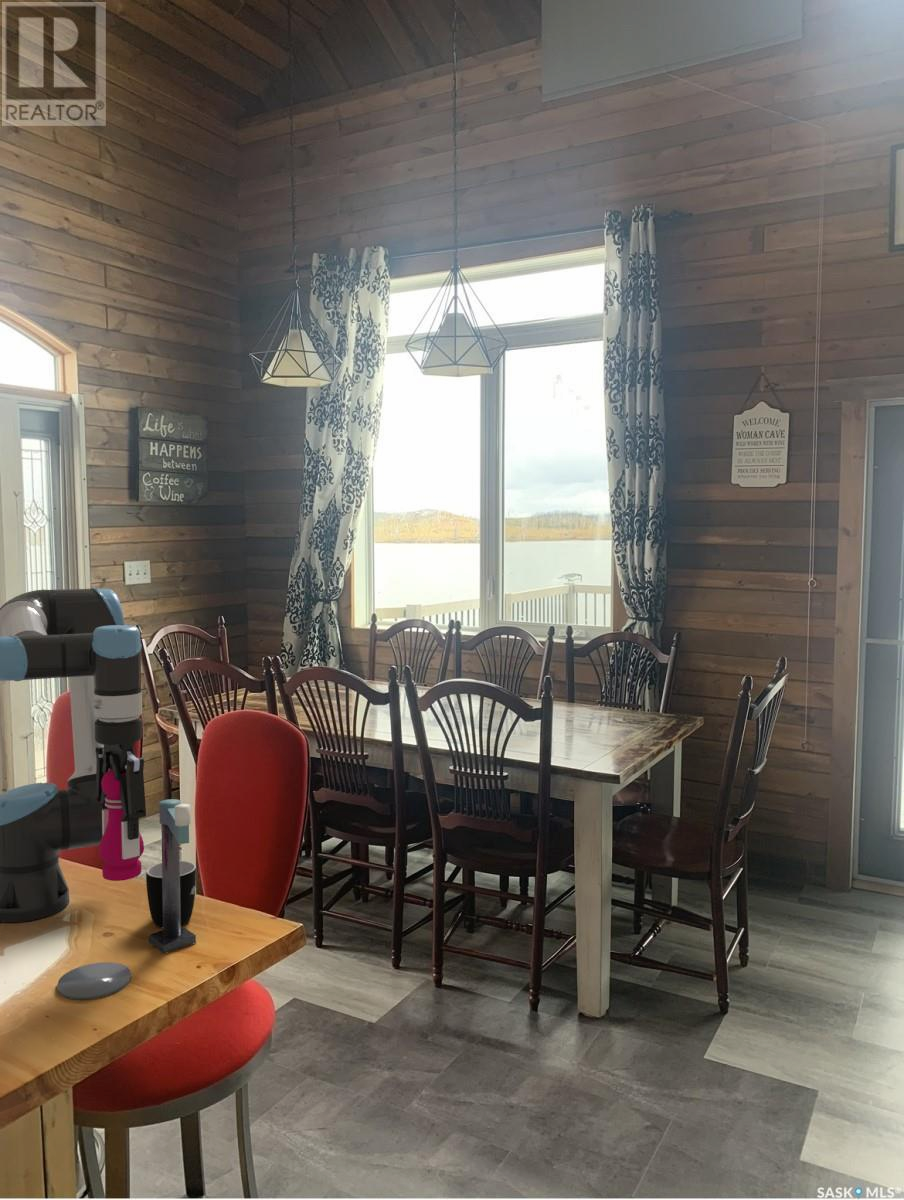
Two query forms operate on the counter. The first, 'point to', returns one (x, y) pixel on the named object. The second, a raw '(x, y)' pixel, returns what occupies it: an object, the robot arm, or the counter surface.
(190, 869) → the mug
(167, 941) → the post
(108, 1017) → the counter surface
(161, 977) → the counter surface
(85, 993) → the slate coaster
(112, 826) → the pepper mill
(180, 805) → the pegged blue crossbar
